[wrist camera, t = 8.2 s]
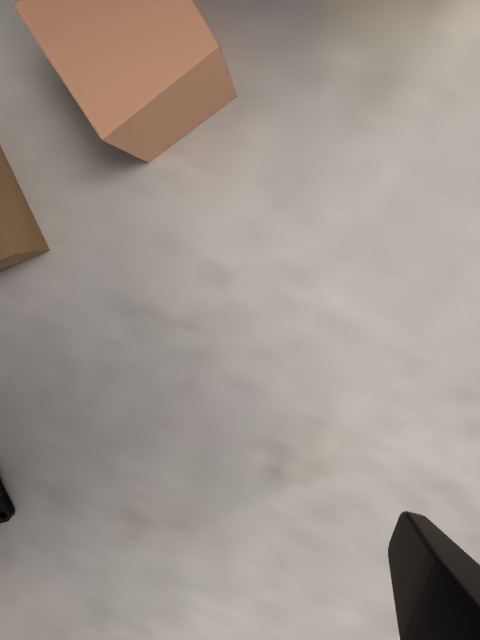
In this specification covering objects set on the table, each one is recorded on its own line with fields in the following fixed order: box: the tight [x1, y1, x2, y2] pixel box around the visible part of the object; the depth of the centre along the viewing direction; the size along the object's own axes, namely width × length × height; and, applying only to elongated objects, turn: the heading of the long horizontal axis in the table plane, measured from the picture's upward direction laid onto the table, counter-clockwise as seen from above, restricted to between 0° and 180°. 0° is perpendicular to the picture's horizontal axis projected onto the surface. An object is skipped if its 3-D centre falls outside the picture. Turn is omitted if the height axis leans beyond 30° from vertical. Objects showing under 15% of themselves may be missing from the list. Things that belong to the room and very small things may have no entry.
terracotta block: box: [13, 0, 237, 163], centre depth 15 cm, size 5×5×5 cm
